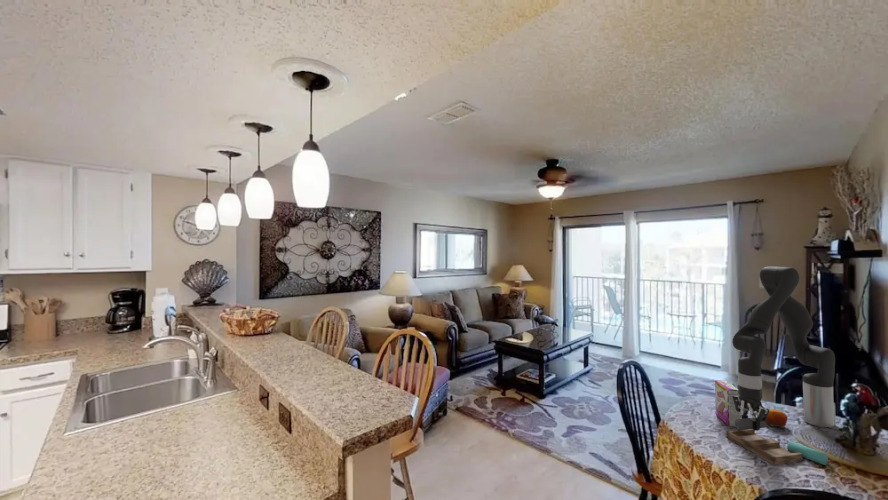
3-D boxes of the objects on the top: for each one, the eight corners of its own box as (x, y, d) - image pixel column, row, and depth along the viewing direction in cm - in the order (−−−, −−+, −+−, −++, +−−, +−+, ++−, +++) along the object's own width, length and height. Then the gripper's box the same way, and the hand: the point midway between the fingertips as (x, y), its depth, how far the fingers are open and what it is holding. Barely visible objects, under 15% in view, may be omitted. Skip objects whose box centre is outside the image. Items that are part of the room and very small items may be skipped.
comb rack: (752, 434, 153) (752, 428, 153) (802, 460, 134) (802, 453, 134) (726, 437, 152) (726, 431, 152) (773, 464, 133) (773, 457, 133)
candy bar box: (715, 415, 171) (714, 379, 170) (727, 415, 170) (726, 380, 169) (728, 427, 160) (727, 389, 159) (741, 427, 159) (740, 389, 158)
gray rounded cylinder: (756, 425, 151) (756, 415, 151) (766, 429, 147) (766, 419, 147) (735, 427, 149) (734, 417, 149) (744, 432, 145) (743, 421, 145)
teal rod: (792, 448, 142) (788, 453, 140) (791, 438, 141) (786, 444, 139) (828, 461, 133) (824, 467, 131) (827, 451, 132) (822, 457, 131)
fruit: (769, 426, 156) (764, 406, 160) (762, 428, 162) (758, 409, 166) (794, 429, 153) (788, 409, 156) (786, 431, 159) (781, 411, 163)
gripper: (725, 379, 154) (726, 419, 155) (758, 392, 140) (759, 437, 140) (741, 377, 155) (742, 418, 155) (776, 390, 141) (776, 435, 141)
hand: (750, 427), depth 148 cm, fingers closed on gray rounded cylinder, 4 cm apart
